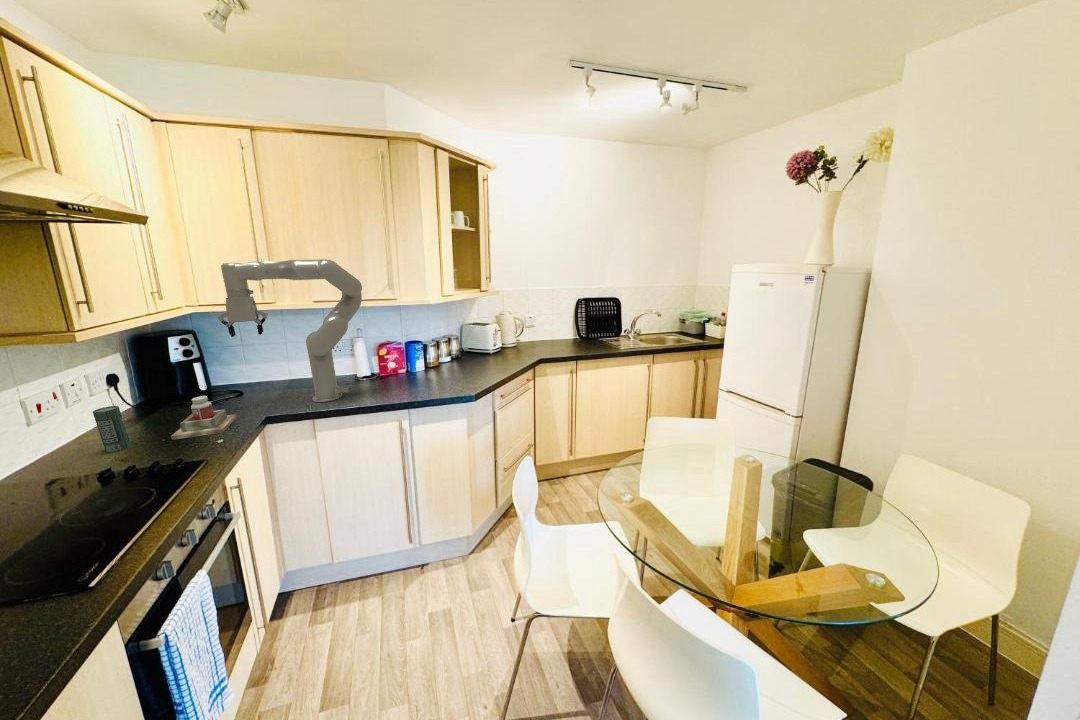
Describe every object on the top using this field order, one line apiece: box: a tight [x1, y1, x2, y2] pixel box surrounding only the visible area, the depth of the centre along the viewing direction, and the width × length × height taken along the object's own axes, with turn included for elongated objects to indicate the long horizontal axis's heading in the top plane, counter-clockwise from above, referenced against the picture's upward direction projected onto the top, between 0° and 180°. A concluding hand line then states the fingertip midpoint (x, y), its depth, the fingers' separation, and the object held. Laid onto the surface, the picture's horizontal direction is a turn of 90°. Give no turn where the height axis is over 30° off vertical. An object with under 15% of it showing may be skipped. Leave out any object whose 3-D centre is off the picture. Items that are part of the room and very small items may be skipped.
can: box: [92, 405, 132, 454], centre depth 143 cm, size 6×6×15 cm
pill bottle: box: [190, 395, 214, 421], centre depth 159 cm, size 6×6×11 cm
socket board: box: [170, 408, 238, 441], centre depth 160 cm, size 16×16×5 cm
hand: (247, 335), depth 170 cm, fingers open, 9 cm apart
